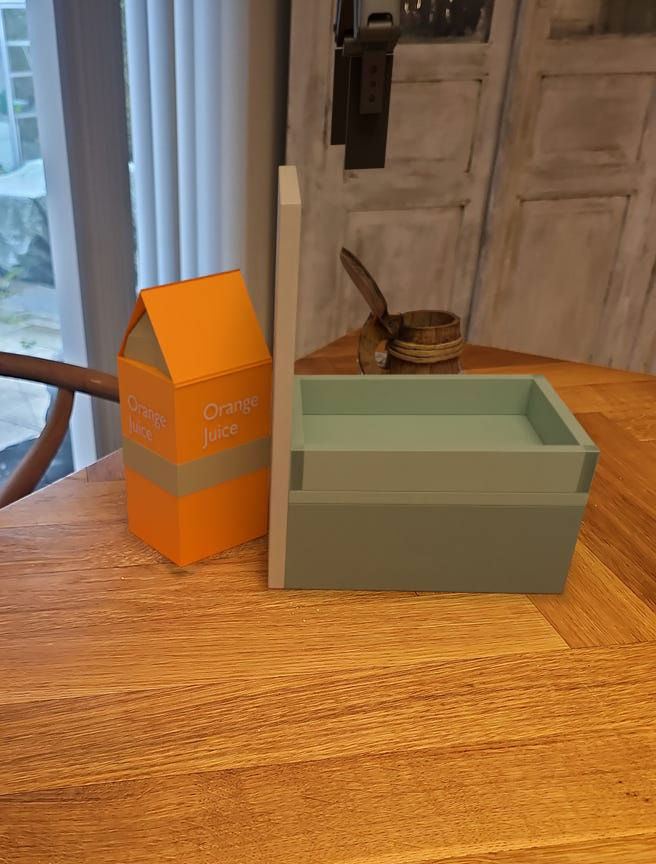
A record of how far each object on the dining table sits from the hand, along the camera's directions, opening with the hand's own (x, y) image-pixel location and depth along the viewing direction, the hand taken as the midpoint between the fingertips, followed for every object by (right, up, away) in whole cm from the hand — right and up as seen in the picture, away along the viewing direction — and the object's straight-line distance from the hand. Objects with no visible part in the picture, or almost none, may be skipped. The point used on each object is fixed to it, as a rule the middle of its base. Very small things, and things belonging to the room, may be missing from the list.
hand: (354, 155), depth 66 cm
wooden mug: (+8, -16, +22) cm, 28 cm away
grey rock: (+12, -9, +32) cm, 35 cm away
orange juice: (-12, -28, +6) cm, 31 cm away
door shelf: (+5, -29, +4) cm, 29 cm away
